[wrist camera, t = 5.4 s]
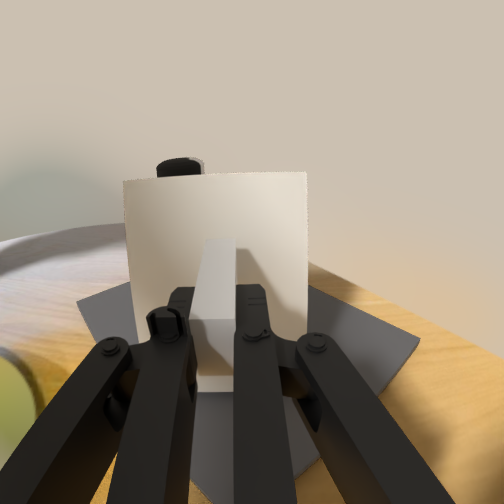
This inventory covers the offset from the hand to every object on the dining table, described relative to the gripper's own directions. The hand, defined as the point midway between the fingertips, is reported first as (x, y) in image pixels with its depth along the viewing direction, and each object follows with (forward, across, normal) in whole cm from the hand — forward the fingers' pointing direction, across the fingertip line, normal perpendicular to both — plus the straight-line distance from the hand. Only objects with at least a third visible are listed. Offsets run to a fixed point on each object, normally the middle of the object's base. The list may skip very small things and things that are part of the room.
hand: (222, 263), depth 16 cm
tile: (0, 0, -9) cm, 9 cm away
